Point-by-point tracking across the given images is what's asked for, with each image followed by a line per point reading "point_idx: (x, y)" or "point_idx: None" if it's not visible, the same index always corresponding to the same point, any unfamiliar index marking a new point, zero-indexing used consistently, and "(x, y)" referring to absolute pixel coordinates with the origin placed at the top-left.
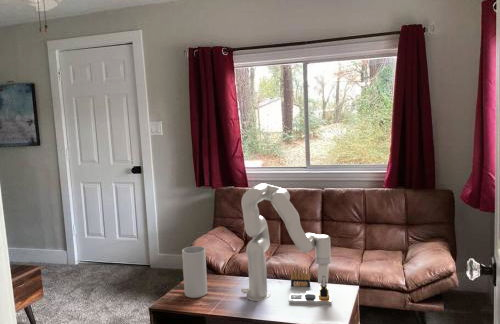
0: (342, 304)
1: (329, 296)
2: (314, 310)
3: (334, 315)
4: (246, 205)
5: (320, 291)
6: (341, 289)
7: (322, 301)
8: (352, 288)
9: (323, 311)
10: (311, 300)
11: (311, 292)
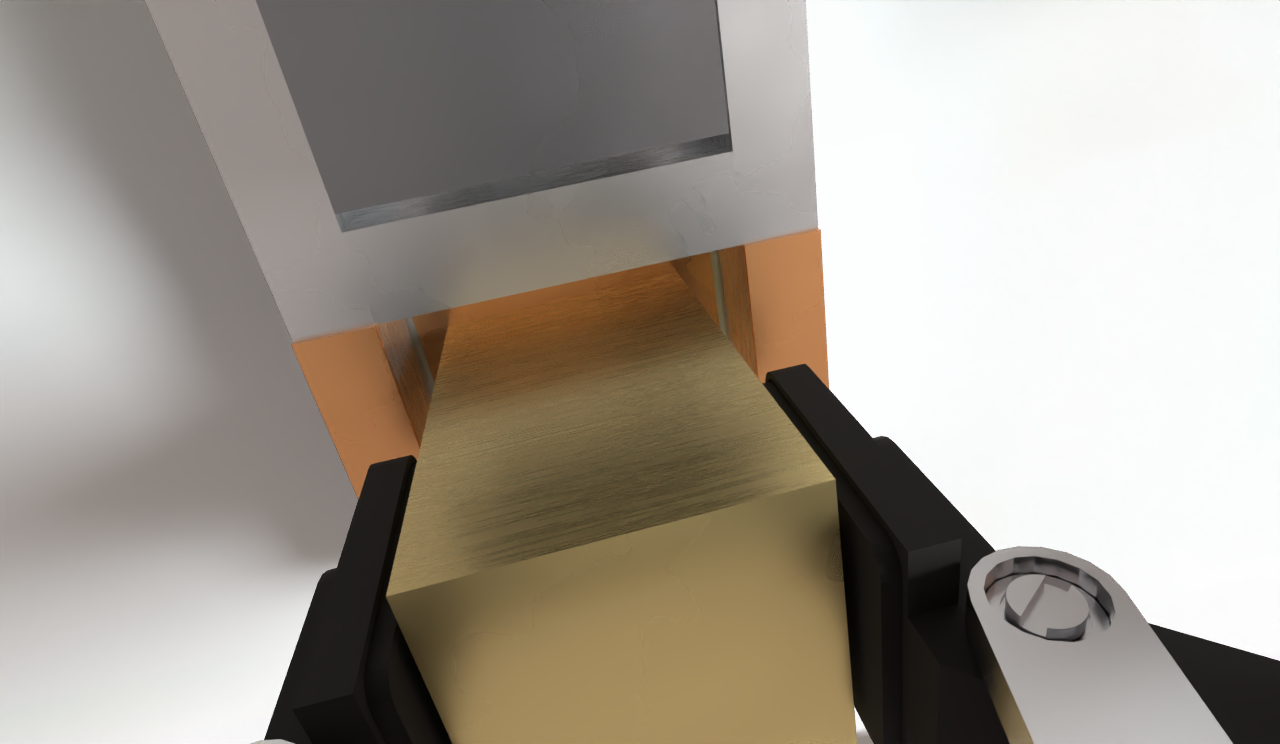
0: None
1: None
2: (34, 214)
3: (53, 674)
4: None
5: (409, 553)
6: (1260, 524)
7: (343, 444)
8: (1264, 655)
9: (116, 443)
10: (207, 83)
11: (517, 27)
